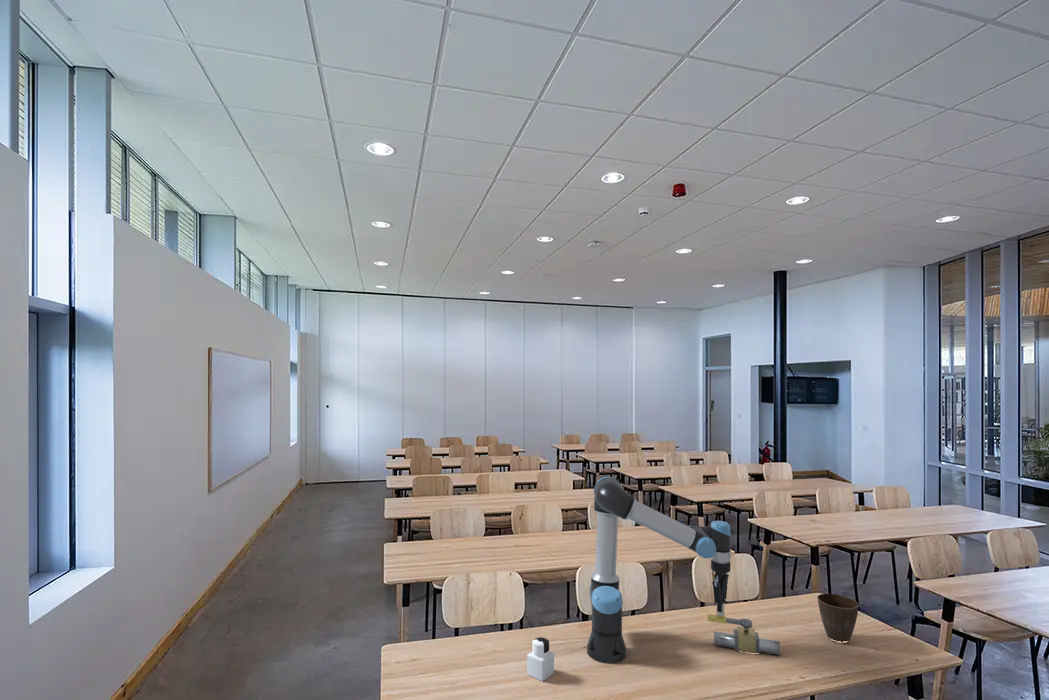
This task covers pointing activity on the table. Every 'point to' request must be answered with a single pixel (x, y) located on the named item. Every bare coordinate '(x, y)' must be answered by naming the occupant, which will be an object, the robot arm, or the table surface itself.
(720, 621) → the lever
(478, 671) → the table surface
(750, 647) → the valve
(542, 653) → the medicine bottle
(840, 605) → the plant pot
